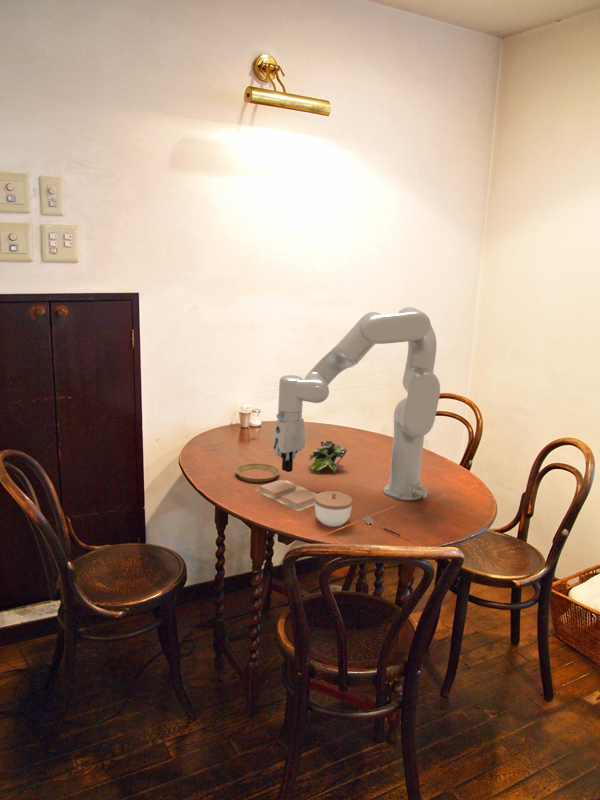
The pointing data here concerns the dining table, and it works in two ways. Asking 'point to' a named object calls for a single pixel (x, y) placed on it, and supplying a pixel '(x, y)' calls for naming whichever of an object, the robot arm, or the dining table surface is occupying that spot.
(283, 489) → the tile
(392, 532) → the fork
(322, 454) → the passion flower
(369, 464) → the dining table surface
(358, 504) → the dining table surface
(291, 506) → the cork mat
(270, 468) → the plant saucer
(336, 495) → the lidded jar
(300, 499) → the tile
